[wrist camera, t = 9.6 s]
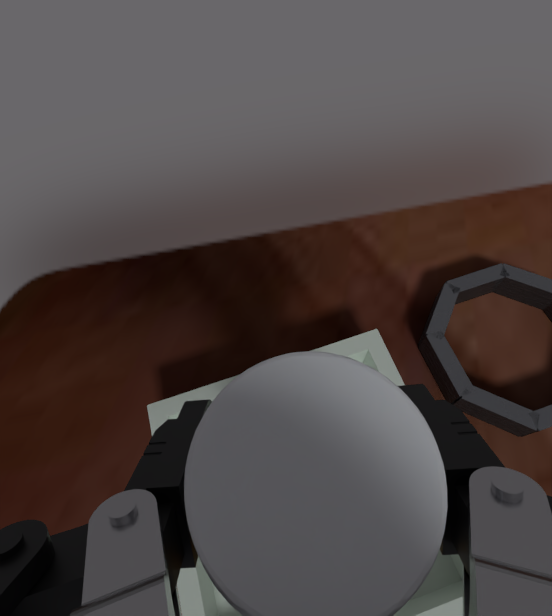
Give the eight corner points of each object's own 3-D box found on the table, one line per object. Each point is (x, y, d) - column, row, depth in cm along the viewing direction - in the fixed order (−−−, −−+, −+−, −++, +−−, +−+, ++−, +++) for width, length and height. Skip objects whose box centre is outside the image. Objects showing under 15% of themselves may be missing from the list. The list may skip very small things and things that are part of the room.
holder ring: (474, 453, 23) (488, 449, 21) (397, 309, 27) (403, 295, 25) (625, 398, 24) (652, 389, 22) (527, 266, 28) (541, 250, 26)
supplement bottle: (265, 403, 16) (213, 282, 8) (397, 444, 15) (514, 356, 6) (216, 548, 14) (64, 612, 5) (367, 609, 13) (486, 813, 4)
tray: (218, 699, 19) (202, 734, 16) (165, 416, 25) (146, 405, 22) (484, 593, 20) (513, 607, 17) (369, 348, 26) (377, 328, 23)
